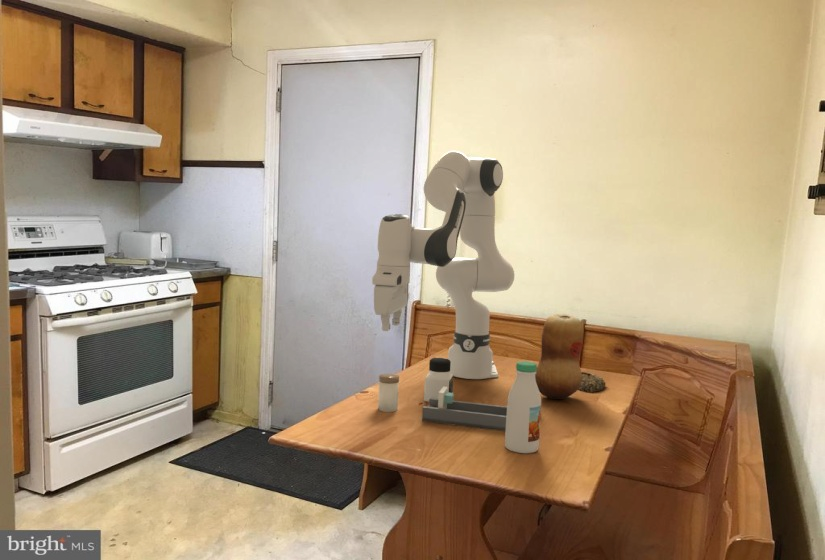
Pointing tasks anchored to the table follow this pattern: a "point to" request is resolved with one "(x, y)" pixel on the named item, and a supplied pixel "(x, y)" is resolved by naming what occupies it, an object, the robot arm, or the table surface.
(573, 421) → the table surface
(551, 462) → the table surface
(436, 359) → the medicine bottle
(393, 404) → the jar
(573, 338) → the butternut squash
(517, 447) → the milk bottle
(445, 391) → the pusher
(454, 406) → the lane
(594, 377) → the grey speckled flat mound
